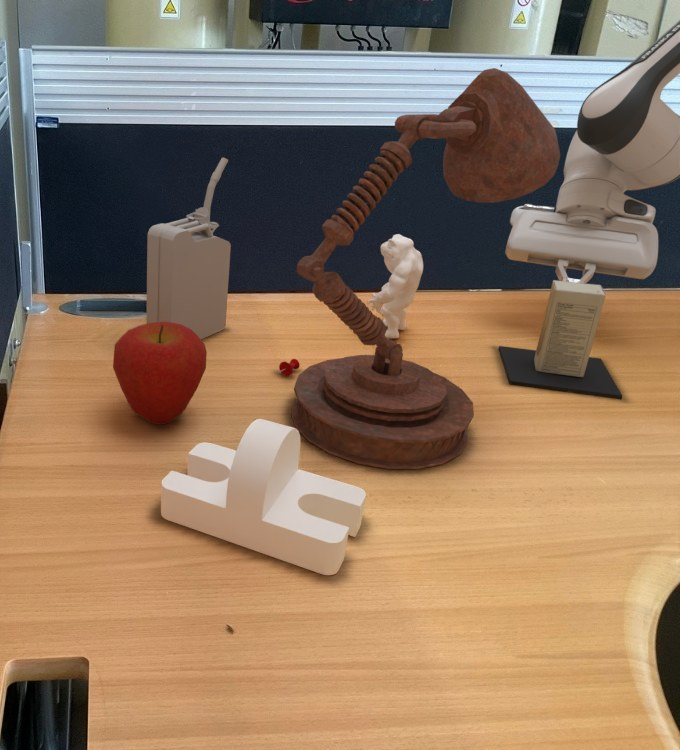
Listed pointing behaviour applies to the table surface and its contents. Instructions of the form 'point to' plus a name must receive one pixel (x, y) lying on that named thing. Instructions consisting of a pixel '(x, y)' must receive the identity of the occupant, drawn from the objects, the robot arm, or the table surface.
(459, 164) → the desk lamp
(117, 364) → the apple
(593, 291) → the cosmetic box
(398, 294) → the figurine
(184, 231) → the gas can
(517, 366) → the mat
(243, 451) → the white u-slot block
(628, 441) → the table surface
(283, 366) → the pushpin
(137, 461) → the table surface
